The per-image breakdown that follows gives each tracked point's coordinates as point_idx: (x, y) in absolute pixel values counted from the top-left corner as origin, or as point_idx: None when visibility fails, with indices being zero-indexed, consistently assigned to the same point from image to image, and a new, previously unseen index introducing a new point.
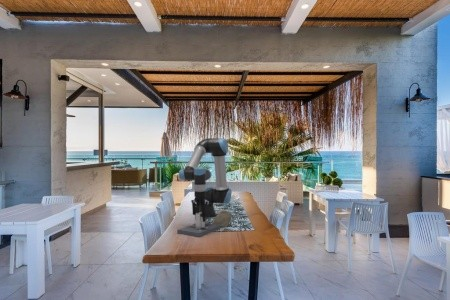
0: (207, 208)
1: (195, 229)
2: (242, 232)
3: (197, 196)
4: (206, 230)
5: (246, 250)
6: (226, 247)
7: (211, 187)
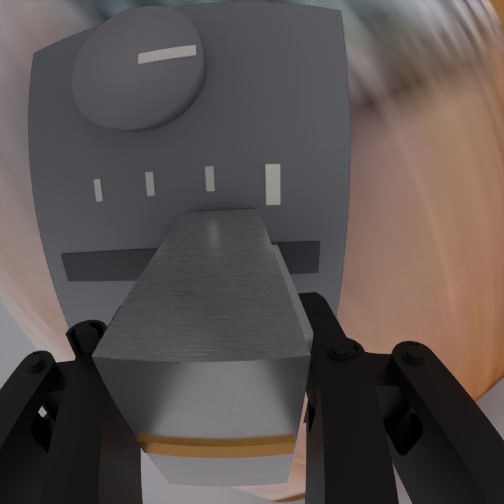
0: (495, 492)
1: None
2: (500, 92)
3: None
4: (338, 290)
5: None
6: (478, 370)
7: None
